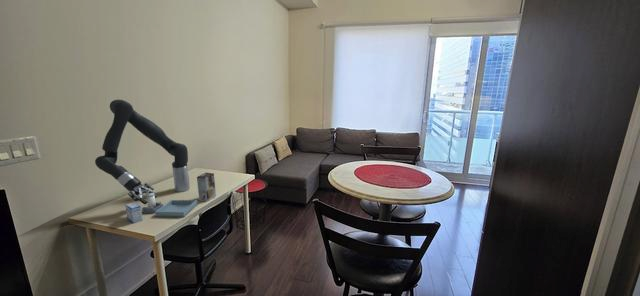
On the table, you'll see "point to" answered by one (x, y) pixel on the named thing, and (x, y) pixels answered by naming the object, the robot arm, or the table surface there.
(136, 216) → the medicine box
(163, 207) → the parts tray
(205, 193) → the coffee box
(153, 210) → the holder
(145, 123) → the robot arm
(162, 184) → the table surface
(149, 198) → the white dome cap bottle
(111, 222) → the table surface
